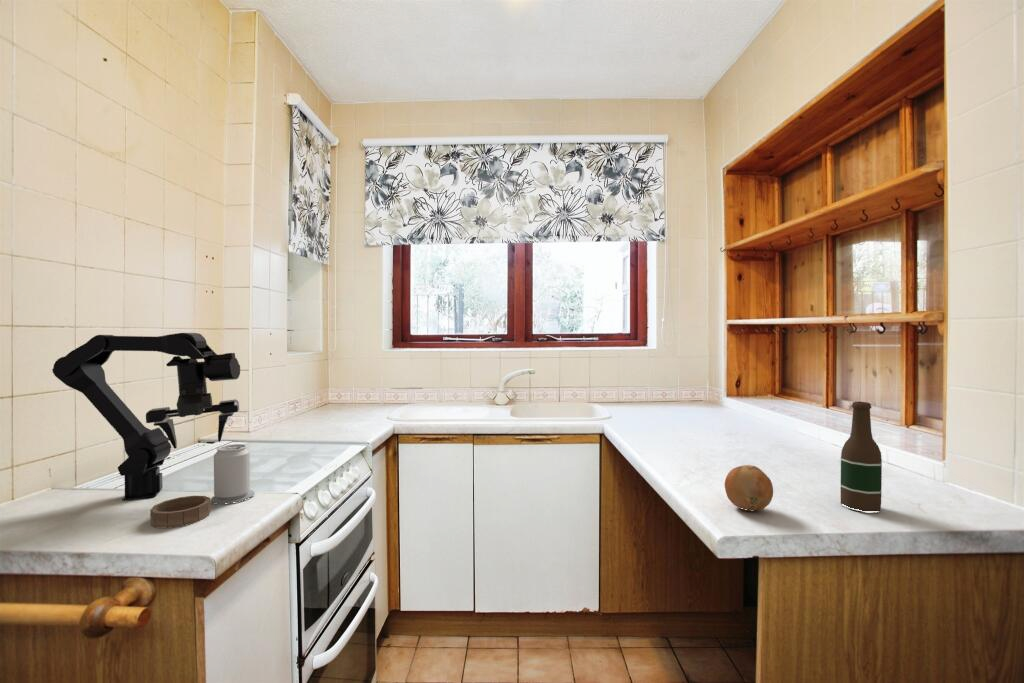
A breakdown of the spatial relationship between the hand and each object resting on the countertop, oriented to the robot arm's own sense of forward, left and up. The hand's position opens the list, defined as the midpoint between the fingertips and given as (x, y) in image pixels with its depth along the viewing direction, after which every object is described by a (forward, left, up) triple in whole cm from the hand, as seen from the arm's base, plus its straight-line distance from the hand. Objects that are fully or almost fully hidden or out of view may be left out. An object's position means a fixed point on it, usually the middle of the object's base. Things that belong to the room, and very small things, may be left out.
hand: (197, 444), depth 115 cm
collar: (0, -18, -12) cm, 21 cm away
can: (+8, -8, -12) cm, 16 cm away
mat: (+8, -8, -12) cm, 17 cm away
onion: (+115, -66, -12) cm, 133 cm away
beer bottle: (+139, -76, -12) cm, 159 cm away
